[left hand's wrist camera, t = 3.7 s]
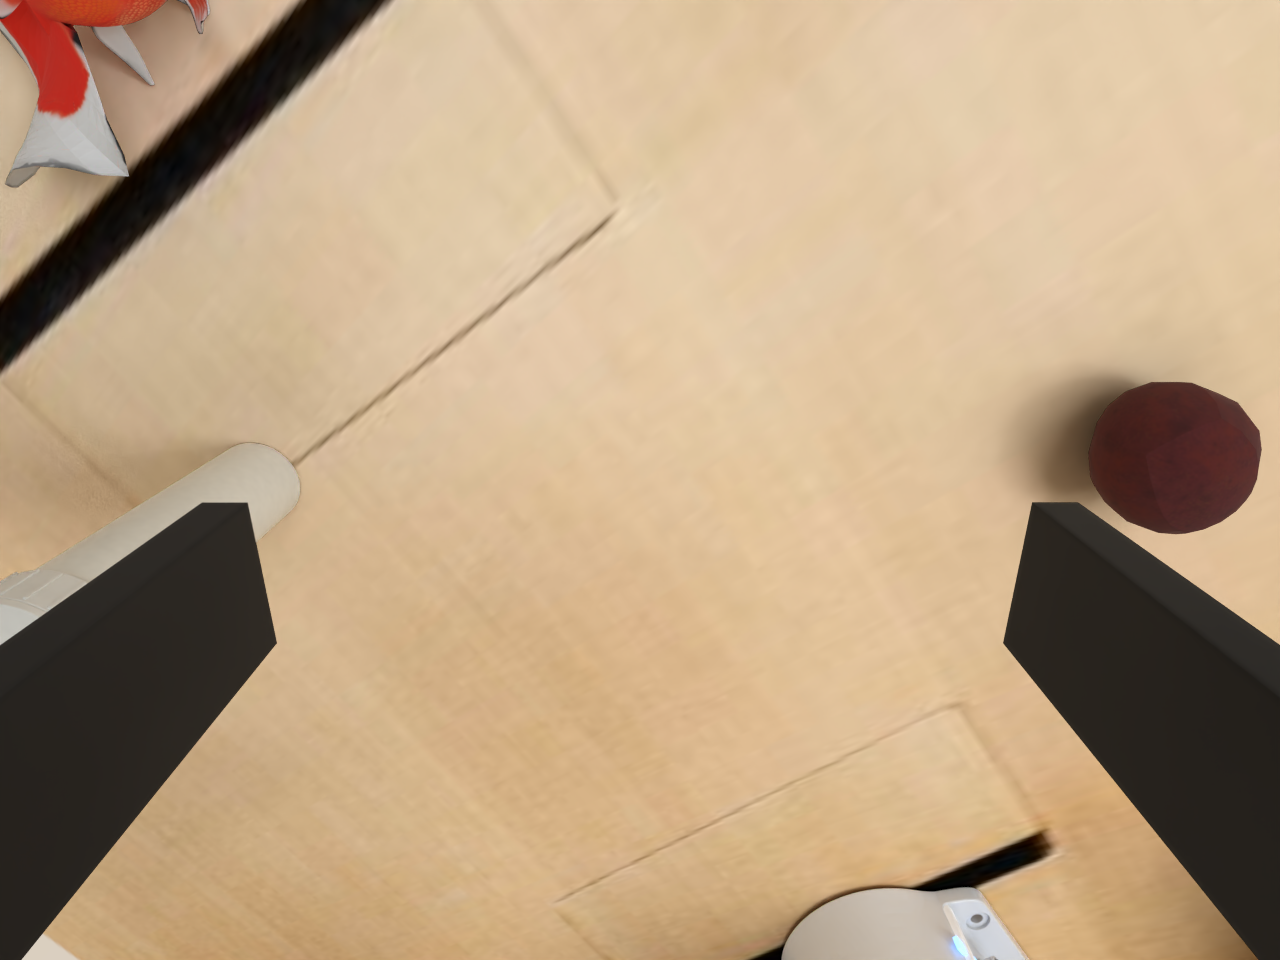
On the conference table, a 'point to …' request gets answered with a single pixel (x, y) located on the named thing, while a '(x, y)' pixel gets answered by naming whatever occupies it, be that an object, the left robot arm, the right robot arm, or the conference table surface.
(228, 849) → the conference table surface
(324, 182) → the conference table surface
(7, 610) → the lid
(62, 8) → the fish
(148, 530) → the white bottle
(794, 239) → the conference table surface
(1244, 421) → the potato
